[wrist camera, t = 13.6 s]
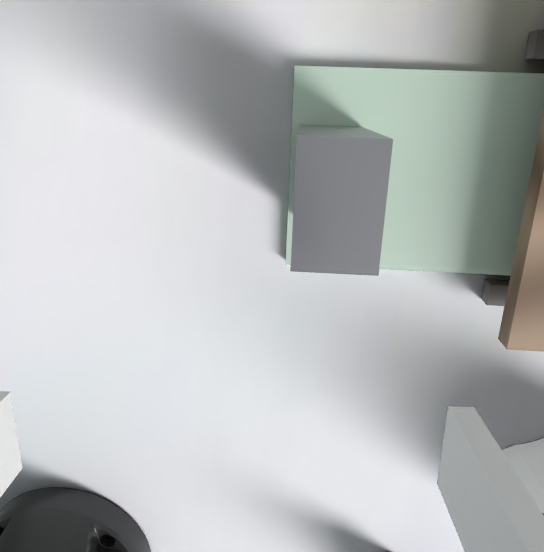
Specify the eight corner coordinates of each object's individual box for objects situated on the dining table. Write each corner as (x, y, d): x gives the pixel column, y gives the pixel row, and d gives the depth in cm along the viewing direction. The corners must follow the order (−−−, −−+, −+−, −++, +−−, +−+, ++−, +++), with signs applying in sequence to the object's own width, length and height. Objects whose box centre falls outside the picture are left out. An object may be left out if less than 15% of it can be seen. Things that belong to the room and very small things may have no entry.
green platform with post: (595, 274, 36) (753, 366, 23) (286, 259, 37) (276, 339, 24) (646, 78, 31) (873, 60, 19) (294, 66, 32) (288, 43, 20)
